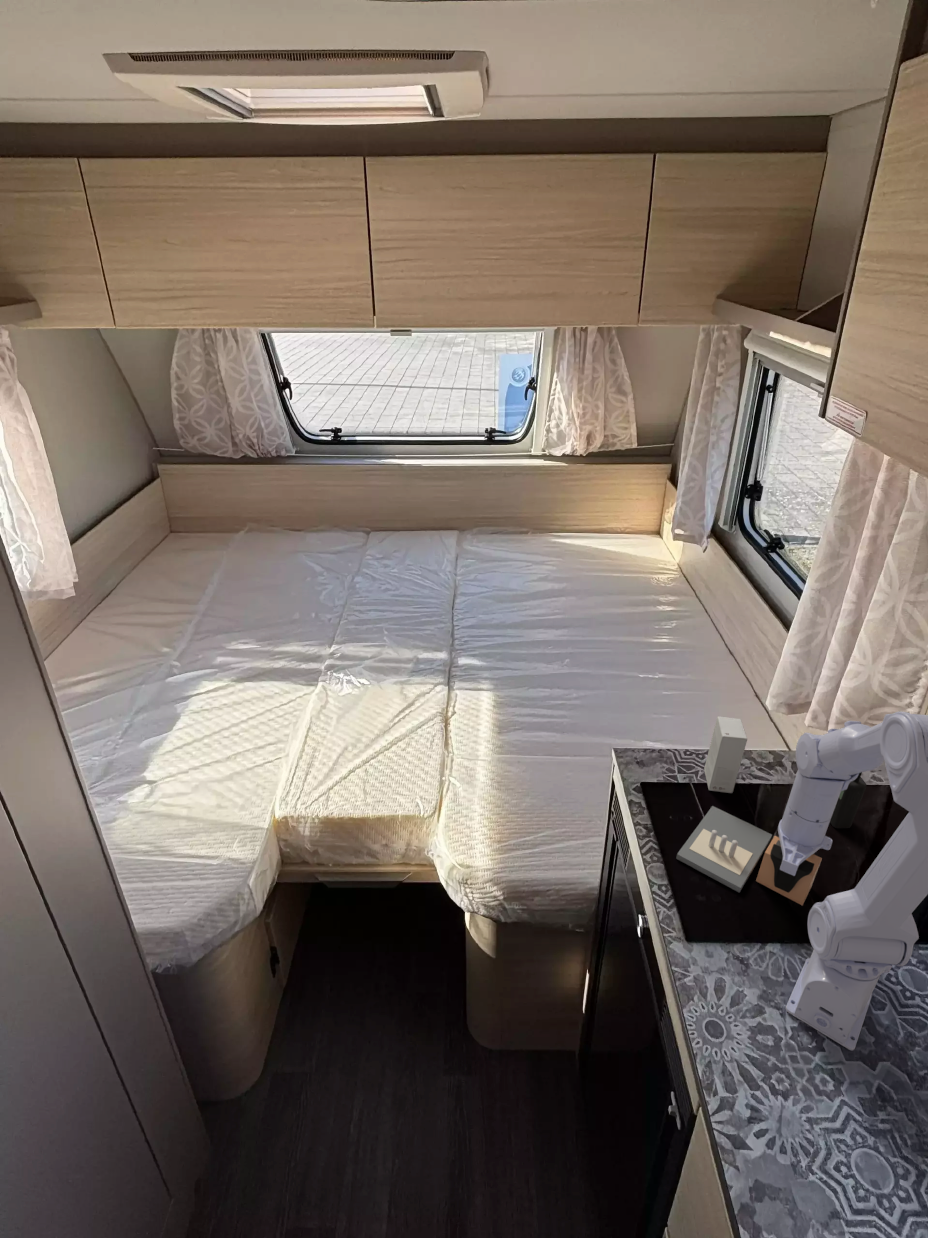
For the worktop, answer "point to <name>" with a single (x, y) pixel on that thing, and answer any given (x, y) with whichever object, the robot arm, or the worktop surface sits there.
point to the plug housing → (801, 886)
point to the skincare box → (725, 754)
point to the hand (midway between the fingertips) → (786, 876)
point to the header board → (724, 848)
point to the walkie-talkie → (848, 804)
